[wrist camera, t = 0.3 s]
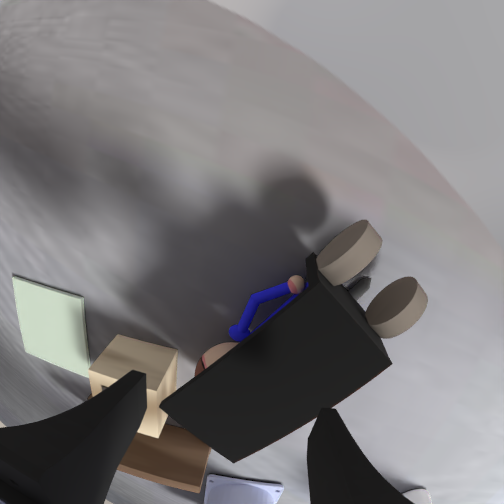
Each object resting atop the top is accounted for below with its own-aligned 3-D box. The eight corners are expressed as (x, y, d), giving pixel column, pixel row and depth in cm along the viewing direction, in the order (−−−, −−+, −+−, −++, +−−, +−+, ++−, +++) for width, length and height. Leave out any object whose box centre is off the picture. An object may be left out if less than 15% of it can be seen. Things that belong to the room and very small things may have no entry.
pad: (92, 375, 25) (90, 378, 24) (27, 349, 25) (25, 351, 25) (83, 297, 23) (80, 299, 22) (14, 275, 23) (12, 277, 22)
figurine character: (335, 202, 20) (177, 350, 23) (378, 213, 13) (149, 415, 15) (395, 273, 21) (243, 403, 24) (451, 313, 14) (239, 475, 16)
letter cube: (176, 396, 25) (157, 439, 20) (121, 380, 25) (96, 419, 20) (178, 349, 23) (155, 392, 18) (118, 333, 23) (87, 370, 18)
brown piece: (211, 448, 26) (199, 498, 20) (95, 414, 26) (69, 454, 21) (214, 428, 25) (200, 481, 19) (90, 393, 26) (61, 434, 20)
